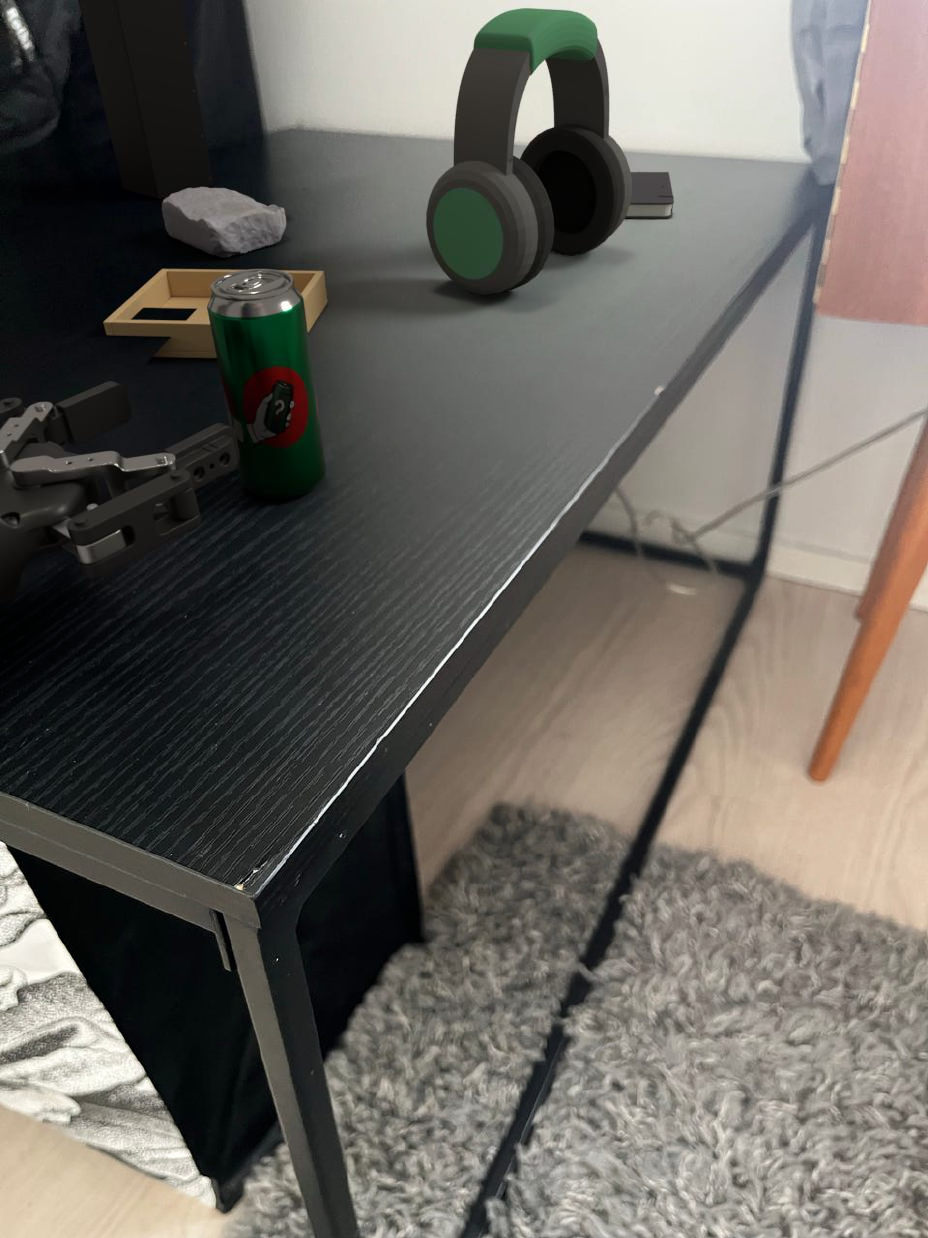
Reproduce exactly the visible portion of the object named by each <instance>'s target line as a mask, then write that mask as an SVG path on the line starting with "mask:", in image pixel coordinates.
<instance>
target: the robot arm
mask: <svg viewBox="0 0 928 1238" xmlns="http://www.w3.org/2000/svg"><path fill="white" fill-rule="evenodd" d="M131 418H132V408H131V404H130V401H129V396H128V393H127V389H126V387H125V386H124V385H123V384H121V383H118V382H116V381H114V380H108V381H106V382H103V383H101V384H99V385H96V386H95V387H92V388H90V389H87V390H85V391H83V392H80V393H78V394H75V395H74V396H71V397H69V398H66V399H63V400H62V401H59V402H57V403H55V405H53V403H52V402H49V401H39V402H35V403H33V404H31V405H29V406H28V407H25V406H24V404H23V401H22V399H21V398H19V397H7V398H4V399H0V423H3V425H2V427H1V428H0V604H2V603H4V602H6V601H8V600H10V599H11V598H12V597H13V596H14V595H15V594H16V593H17V592H18V590H19V588H20V585H21V580H22V575H23V572H24V570H25V568H26V565H27V564H28V563H29V562H30V560H32V559H35V558H38V557H41V556H43V555H46V554H50V553H55V552H57V551H62V550H66V551H67V552H69V553H70V554H72V555H74V556H75V557H76V559H77V562H78V565H79V567H80V569H81V573H82V576H83V577H85V578H87V579H99V578H103V577H105V576H107V575H109V574H110V573H112V572H115V571H116V570H118V569H120V568H122V567H124V566H126V565H127V564H129V563H131V562H133V561H135V560H137V559H139V558H140V557H142V556H145V555H146V554H147V553H149V552H151V551H153V550H155V549H157V548H159V547H161V546H163V545H164V544H166V543H168V542H170V541H172V540H174V539H176V538H177V537H179V536H182V535H183V534H185V533H187V532H189V531H191V530H193V529H194V528H196V527H198V526H199V525H201V523H202V517H201V513H200V507H199V504H198V501H197V496H196V492H195V491H196V490H198V489H201V488H202V487H204V486H206V485H208V484H209V483H211V482H213V481H214V480H216V479H217V478H220V477H222V476H224V475H226V474H227V473H229V472H231V471H233V470H234V469H235V468H236V467H237V466H238V462H239V458H240V455H239V450H238V445H237V440H236V434H235V431H234V429H233V428H232V427H230V425H227V424H224V423H222V422H216V423H215V424H212V425H209V427H207V428H204V429H202V430H201V431H198V432H196V433H195V434H193V435H191V436H188V437H187V438H185V439H183V440H181V441H179V442H177V443H174V444H173V445H171V446H169V447H167V448H165V449H163V452H159V453H153V454H145V455H140V456H134V457H123V456H122V455H121V454H120V453H119V452H117V451H114V450H107V451H105V450H104V451H99V452H93V453H85V454H79V453H74V452H70V451H67V444H69V445H71V446H74V447H79V446H80V445H82V444H85V443H87V442H88V441H91V440H93V439H95V438H97V437H99V436H102V435H103V434H106V433H108V432H110V431H112V430H114V429H116V428H118V427H121V426H122V425H124V424H127V423H128V422H129V421H130V420H131ZM66 442H67V444H66ZM97 477H99V478H101V479H103V480H104V481H105V482H106V484H107V488H108V491H109V494H110V497H111V499H110V500H107V501H106V502H103V503H101V497H102V496H101V489H100V487H99V483H98V480H97ZM149 477H152V479H151V480H149V481H148V482H144V483H143V484H141V485H139V486H137V487H135V488H133V489H131V488H130V486H129V482H128V481H130V480H136V479H142V478H149ZM100 503H101V504H100ZM163 513H168V514H166V515H164V516H162V517H161V518H159V519H156V520H155V517H154V515H156V514H163Z"/></svg>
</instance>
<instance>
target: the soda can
mask: <svg viewBox="0 0 928 1238" xmlns="http://www.w3.org/2000/svg"><path fill="white" fill-rule="evenodd" d="M241 270H242V271H237V272H233V273H229V274H226V275H224V276H221V277H219V278H217V279H216V280H214V281H213V282H212V284H211V287H210V289H211V292H212V295H211V298H210V300H209V303H208V305H207V310H208V315H209V321H210V326H211V331H212V336H213V341H214V346H215V351H216V356H217V358H216V359H217V365H218V370H219V377H220V381H221V387H222V391H223V396H224V402H225V405H226V406H225V407H226V411H227V416H228V422H229V426H230V427H232V428H233V429H234V431H235V434H236V440H237V445H238V450H239V455H240V458H239V462H238V464H237V468H238V472H239V477H240V482H241V484H242V485H243V486H244V487H245V489H247V490H248V491H249V492H250V493H252V494H254V495H255V496H257V497H259V498H262V499H267V500H278V501H279V500H290V499H295V498H298V497H301V496H304V495H307V494H308V493H310V492H312V491H313V490H315V489H316V488H317V487H318V485H319V484H320V483H321V482H322V480H323V479H324V477H325V475H326V472H327V468H326V459H325V453H324V452H325V451H324V444H323V437H322V430H321V421H320V414H319V407H318V406H319V405H318V399H317V391H316V383H315V375H314V369H313V360H312V352H311V347H310V346H311V345H310V339H309V338H310V337H309V332H308V330H307V322H306V315H305V307H304V299H303V296H302V295H301V294H300V292H299V291H298V290H297V289H296V287H295V286H294V279H293V277H292V276H291V275H290V274H288V273H286V272H283V271H279V269H271V268H252V269H251V268H249V269H241Z"/></svg>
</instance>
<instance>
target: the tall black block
mask: <svg viewBox="0 0 928 1238" xmlns="http://www.w3.org/2000/svg"><path fill="white" fill-rule="evenodd" d="M77 1H78V5H79V10H80V14H81V19H82V23H83V27H84V31H85V35H86V39H87V43H88V47H89V53H90V56H91V60H92V64H93V69H94V72H95V77H96V81H97V86H98V90H99V94H100V99H101V103H102V106H103V112H104V116H105V119H106V125H107V128H108V132H109V137H110V140H111V145H112V150H113V153H114V158H115V161H116V165H117V170H118V175H119V178H120V182H121V187H122V188H123V189H124V190H127V191H130V192H133V193H137V194H141V195H144V196H147V197H149V198H154V199H157V200H159V199H167V198H168V197H169V196H170V195H171V194H173V193H177V192H180V191H182V190H184V189H187V188H200V187H208V188H210V187H212V186H214V185H215V183H214V177H213V171H212V166H211V160H210V155H209V150H208V144H207V139H206V133H205V127H204V122H203V117H202V111H201V105H200V100H199V99H200V98H199V94H198V90H197V89H198V88H197V83H196V78H195V72H194V67H193V61H192V55H191V50H190V44H189V38H188V33H187V27H186V21H185V17H184V16H185V15H184V11H183V5H182V0H77Z"/></svg>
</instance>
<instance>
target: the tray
mask: <svg viewBox="0 0 928 1238" xmlns="http://www.w3.org/2000/svg"><path fill="white" fill-rule="evenodd" d="M242 270H243V269H208V268H207V269H206V268H205V269H202V268H201V269H199V268H161V269H160V270H159V271H158V272H157V273H156V274H155V275H154V276H152V278H150V279H149V280H148V281H147V282H146V283H145V284H143V286H142V287H140V288H139V289H138V290H137V291H135V293H134V294H133V295H132V296H130V297H129V298H128V299H127V300H126V301H125V302H124V303H122V304H121V305H120V306H118V308H116V310H114V311H113V312H112V313H111V314H110V315H109V316H108V317H107V318H106V319H105V320H104V321H103V322H102V323H103V327H104V331H105V334H106V336H117V337H118V336H119V337H120V336H123V337H124V336H125V337H126V336H127V337H165V338H166V337H167V338H168V337H169V339H167V340H166V342H165V343H164V344H163V345H162V346H161V347H160V348H159V349H158V350H157V351H156V353H155V354H154V355H152V357H153V358H184V359H185V358H188V359H189V358H190V359H217V356H216V351H215V346H214V341H213V336H212V331H211V326H210V321H209V315H208V310H207V305H208V303H209V300H210V298H211V295H212V292H211V289H210V287H211V284H212V282H213V281H214V280H216V279H217V278H219V277H221V276H224V275H226V274H229V273H233V272H237V271H242ZM278 270H279V269H278ZM279 271H283V272H286V273H288V274H290V275H291V276H292V277H293V279H294V286H295V287H296V289H297V290H298V291H299V292H300V294H301V295H302V296H303V299H304V307H305V315H306V322H307V330H308V333H309V332H310V331H311V329H312V327H313V326H314V324H315V323H316V322H317V320H318V319H319V317H320V315H321V314H322V313H323V310H324V309H325V308H326V306H327V305H328V302H329V301H328V297H327V296H328V293H327V286H326V285H327V283H326V275H325V271H324V270H285V269H282V270H281V269H280V270H279ZM144 308H145V309H146V308H147V309H149V308H150V309H152V308H153V309H195V311H194V312H193V313H192V314H191V315H190V316H189V317H188V318H187V319H186V320H167V319H166V320H164V319H163V320H161V319H157V320H156V319H133V318H134V317H135V316H136V315H137V314H138V313H139V312H141V310H143V309H144Z"/></svg>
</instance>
